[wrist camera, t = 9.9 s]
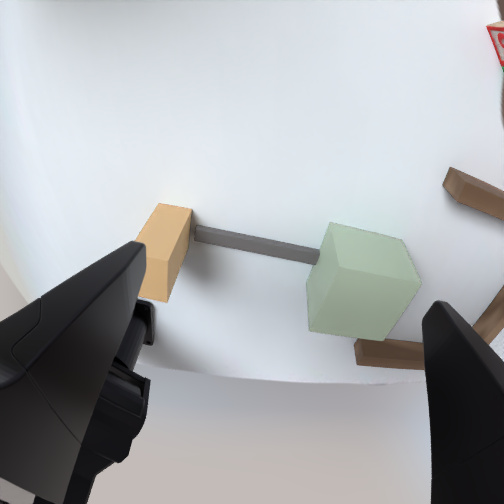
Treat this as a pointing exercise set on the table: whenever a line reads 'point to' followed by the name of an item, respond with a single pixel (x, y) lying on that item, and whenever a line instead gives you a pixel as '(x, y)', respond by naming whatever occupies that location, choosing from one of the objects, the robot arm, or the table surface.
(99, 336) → the robot arm
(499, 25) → the stack of blocks
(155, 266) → the block dumbbell
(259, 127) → the table surface
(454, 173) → the frame
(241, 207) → the table surface
